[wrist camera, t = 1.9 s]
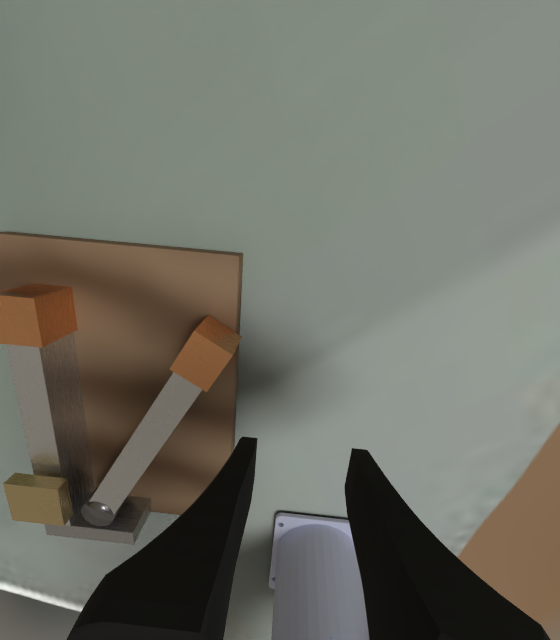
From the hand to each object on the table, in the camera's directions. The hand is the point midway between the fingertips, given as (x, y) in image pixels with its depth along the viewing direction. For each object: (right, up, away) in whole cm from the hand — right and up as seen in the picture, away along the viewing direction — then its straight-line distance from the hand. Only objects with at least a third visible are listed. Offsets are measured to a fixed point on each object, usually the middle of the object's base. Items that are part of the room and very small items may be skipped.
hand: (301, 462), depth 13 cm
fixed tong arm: (-14, -1, +11) cm, 18 cm away
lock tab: (-17, -6, +9) cm, 20 cm away
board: (-12, +1, +11) cm, 17 cm away
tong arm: (-10, -1, +10) cm, 14 cm away
